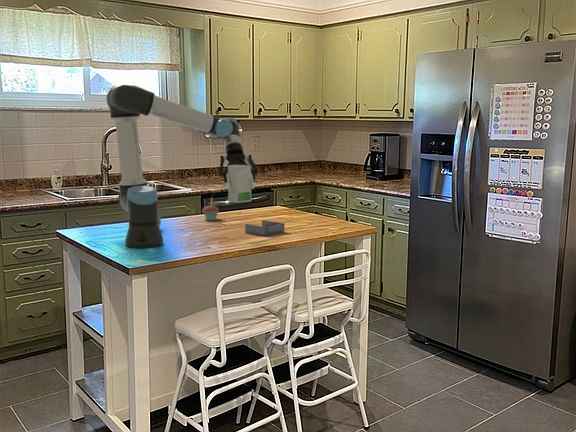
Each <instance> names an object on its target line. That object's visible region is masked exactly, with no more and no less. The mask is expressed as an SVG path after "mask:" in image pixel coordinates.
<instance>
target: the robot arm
mask: <svg viewBox="0 0 576 432" xmlns="http://www.w3.org/2000/svg"><path fill="white" fill-rule="evenodd" d="M106 104H107V106H108V108H109V115H110V119H111V120H112V121H113V122H114V124H115V130H116V131H115V132H116V141H117V147H118V149H117V150H118V157H119V165H120V173H121V174H120V175H121V180H120V182H119V183H118V189H119V192H118V196H117V197H118V203H119V206H120V207H121V208H122V209H123V210H124V211H125V212H127V213H128V229H127V231H126V237H125V240H124V242H125V245H124V246H126V247H128V248H133V249H146V248H147V249H148V248H155V247H160V246H162V245H163V244H164V237H163V235H162V232H161V229H160V228H159V226H158V213H159V209H158V207H159V206H158V199H159V198H158V191H157V189H156V188H154V187H153V186H149V185H148V180H146V179H145V178H144V177H143V167H142V157H141V151H140V149H141V148H140V139H139V131H138V120H139V118H140V117H141V115H143V116H145V117H148V116H151V115H152V116H154V117H157V118H159V119H160V118H161V119H163V120H167V121H170V122H173V123H176V124H180V125H183V126H185V127H188V128H192V129H195V130H196V132H197V133H199V134H201V135H203V136H205V135H206V136H210V137H215V138H221V139H223V141H224V142H223V143H224V148H225V153H226V154H225V155H226V156H223V155H220V157H219V161H220V164H219V170H218V177H222V179H223V182H224V183H225V184H226V186H227V187H226V188H227V191H228V190H230V182H229V176H228V166H230V165H250V166H251V190H254V188H255V181H256V176H258V173H259V169H258V168H257V165H256V164H255V162H254V161H253V157H252V154H248V155H246V154H245V153H244V149H243V143H242V139H241V133H240V126H239V123H238V120H236V118H234V117H226V118H220V117H218V116H214V115H212V114H209V113H207V112H204V111H201V110H197V109H194V108H192V107H189V106H186V105H183V104H179V103H176V102H174V101H170V100H168V99H165V98H163V97H160V96H157V95H156V94H155V93H154V92H153V91H149V90H147V89H145V88H143V87H142V88H141V87H140V86H138V85H136V84H133V83H127V82H125V83H118V84H115V85H113V86H112V87H111V88H110V89H109V90H108V92H107V94H106ZM226 161H227V165H226V166H225V169H224V162H226ZM246 161H247V162H246ZM223 169H224V171H223Z"/></svg>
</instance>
